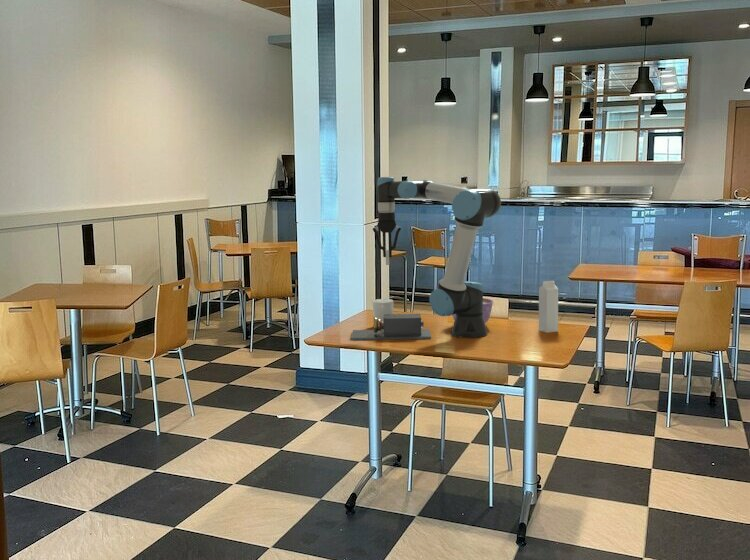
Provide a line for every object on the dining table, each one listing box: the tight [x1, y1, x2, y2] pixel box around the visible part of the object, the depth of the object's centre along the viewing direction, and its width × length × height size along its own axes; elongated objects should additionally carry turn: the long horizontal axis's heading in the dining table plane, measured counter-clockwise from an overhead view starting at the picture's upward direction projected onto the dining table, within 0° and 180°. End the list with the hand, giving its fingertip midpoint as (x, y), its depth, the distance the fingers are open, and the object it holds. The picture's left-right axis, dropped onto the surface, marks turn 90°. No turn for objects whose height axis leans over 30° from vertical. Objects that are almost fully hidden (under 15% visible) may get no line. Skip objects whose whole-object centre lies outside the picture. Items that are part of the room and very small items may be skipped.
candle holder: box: [371, 298, 394, 321], centre depth 338 cm, size 10×10×12 cm
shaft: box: [373, 316, 425, 333], centre depth 317 cm, size 22×7×7 cm, turn 88°
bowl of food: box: [451, 297, 494, 324], centre depth 333 cm, size 20×20×12 cm
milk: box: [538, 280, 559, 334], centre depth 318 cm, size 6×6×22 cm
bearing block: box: [350, 313, 432, 341], centre depth 318 cm, size 34×16×8 cm, turn 88°
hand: (387, 264), depth 329 cm, fingers closed
